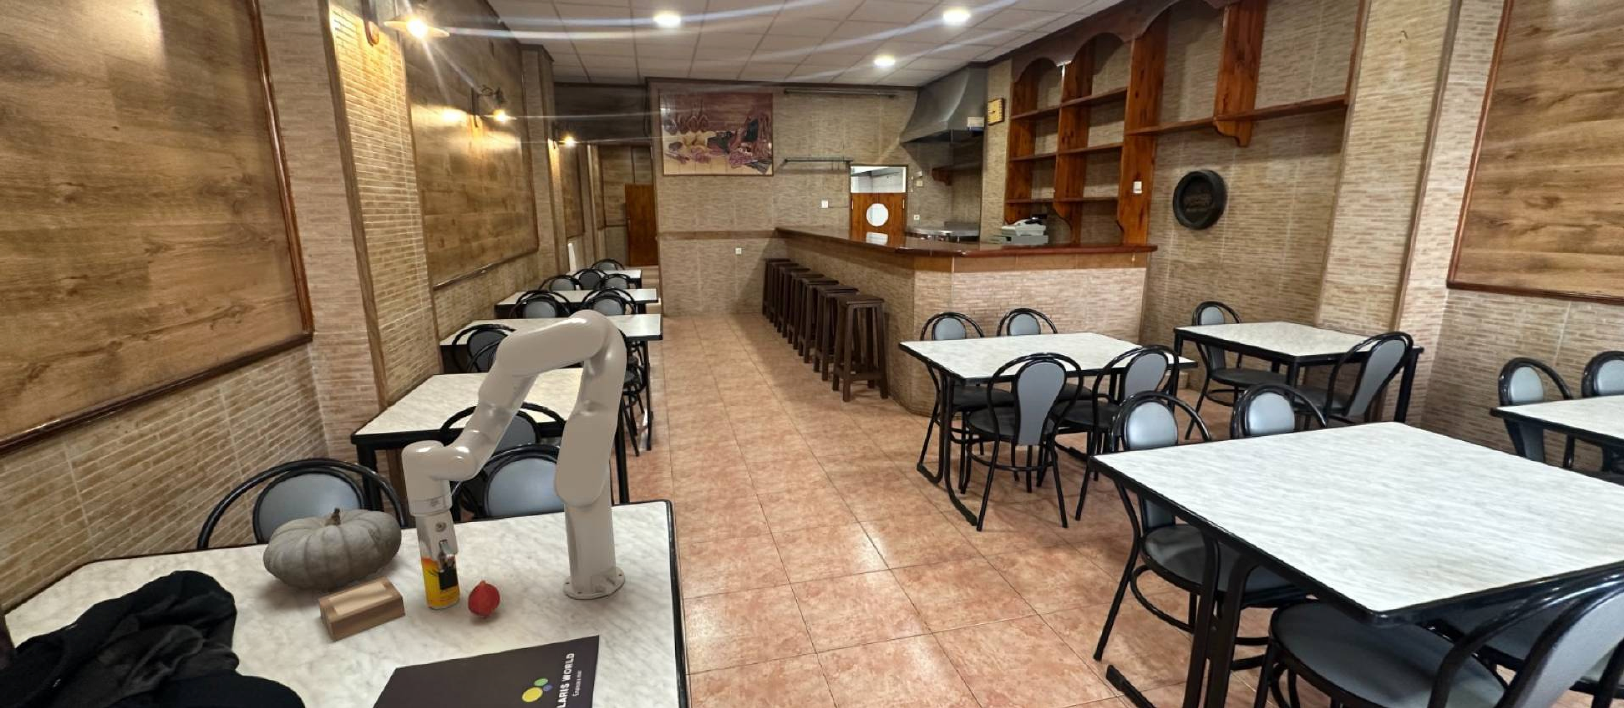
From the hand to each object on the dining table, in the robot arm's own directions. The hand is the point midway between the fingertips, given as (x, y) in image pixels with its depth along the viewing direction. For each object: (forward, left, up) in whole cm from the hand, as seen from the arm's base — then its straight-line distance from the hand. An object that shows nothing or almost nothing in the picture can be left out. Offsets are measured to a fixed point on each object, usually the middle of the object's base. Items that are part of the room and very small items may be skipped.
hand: (441, 578), depth 138 cm
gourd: (+29, +13, -6) cm, 32 cm away
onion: (-12, -4, -6) cm, 14 cm away
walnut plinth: (+7, +13, -5) cm, 16 cm away
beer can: (0, 0, -6) cm, 6 cm away
